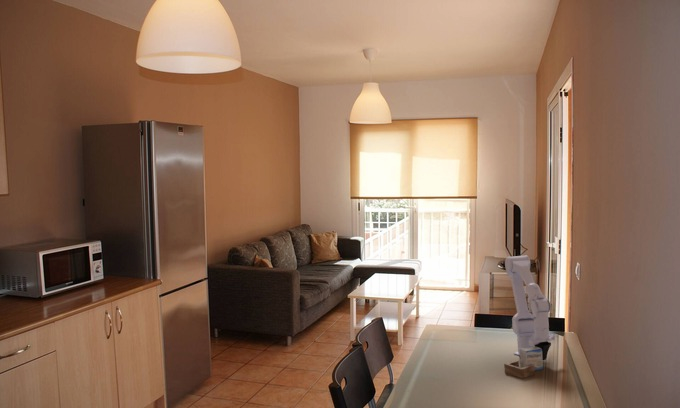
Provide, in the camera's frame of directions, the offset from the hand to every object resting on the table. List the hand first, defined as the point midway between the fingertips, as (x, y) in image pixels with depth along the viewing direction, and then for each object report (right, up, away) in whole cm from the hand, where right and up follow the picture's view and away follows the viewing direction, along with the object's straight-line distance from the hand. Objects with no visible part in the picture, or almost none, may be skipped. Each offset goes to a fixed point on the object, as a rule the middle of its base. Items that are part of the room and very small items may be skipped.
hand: (543, 359), depth 227 cm
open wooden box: (-12, -3, -8) cm, 15 cm away
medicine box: (-6, -3, -4) cm, 8 cm away
